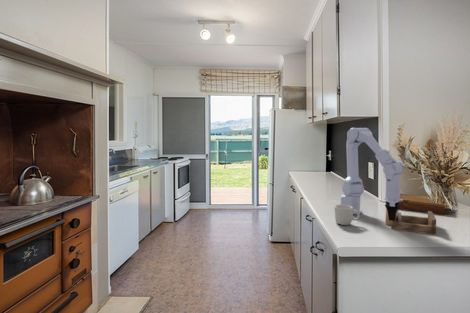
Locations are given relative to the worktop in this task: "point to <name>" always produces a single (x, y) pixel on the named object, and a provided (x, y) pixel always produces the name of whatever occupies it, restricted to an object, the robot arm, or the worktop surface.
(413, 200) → the brown wooden flat block
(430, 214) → the brown wooden frame
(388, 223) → the jar
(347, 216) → the cup
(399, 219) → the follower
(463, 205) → the worktop surface
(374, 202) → the worktop surface
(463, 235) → the worktop surface
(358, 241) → the worktop surface
